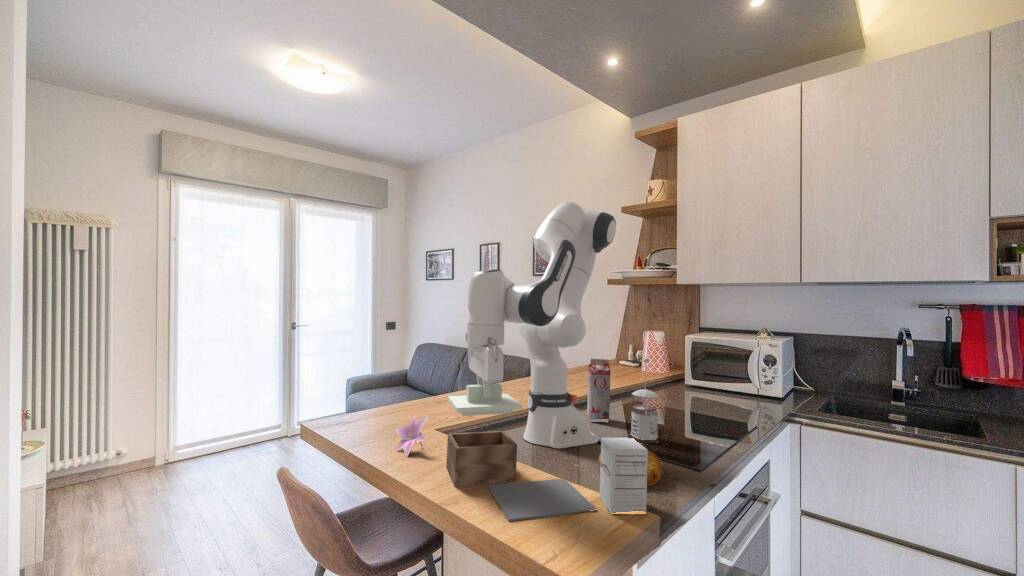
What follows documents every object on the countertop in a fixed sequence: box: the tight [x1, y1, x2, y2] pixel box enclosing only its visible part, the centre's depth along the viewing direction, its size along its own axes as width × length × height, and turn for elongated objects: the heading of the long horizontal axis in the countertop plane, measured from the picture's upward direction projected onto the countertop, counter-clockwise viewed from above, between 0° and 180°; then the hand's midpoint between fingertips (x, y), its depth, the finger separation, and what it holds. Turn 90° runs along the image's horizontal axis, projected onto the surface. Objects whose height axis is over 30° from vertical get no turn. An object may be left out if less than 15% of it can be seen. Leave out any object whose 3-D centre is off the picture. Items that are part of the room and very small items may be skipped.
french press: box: [630, 358, 660, 440], centre depth 131 cm, size 10×12×25 cm
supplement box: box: [599, 437, 648, 513], centre depth 84 cm, size 7×7×13 cm
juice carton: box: [586, 358, 611, 420], centre depth 151 cm, size 7×7×22 cm
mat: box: [487, 477, 598, 522], centre depth 86 cm, size 18×15×1 cm
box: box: [445, 430, 518, 487], centre depth 97 cm, size 14×11×8 cm
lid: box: [447, 383, 523, 417], centre depth 98 cm, size 15×12×6 cm
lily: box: [395, 414, 429, 458], centre depth 112 cm, size 11×11×9 cm
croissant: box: [597, 449, 664, 487], centre depth 101 cm, size 14×16×8 cm
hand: (484, 395), depth 98 cm, fingers closed on lid, 2 cm apart
